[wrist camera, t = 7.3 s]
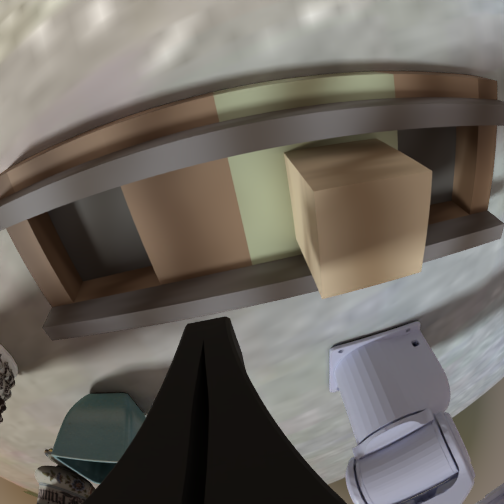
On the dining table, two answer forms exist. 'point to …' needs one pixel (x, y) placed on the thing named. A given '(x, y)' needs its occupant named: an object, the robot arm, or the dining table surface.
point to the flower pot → (97, 434)
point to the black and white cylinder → (6, 377)
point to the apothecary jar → (61, 484)
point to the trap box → (232, 193)
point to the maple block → (358, 213)
